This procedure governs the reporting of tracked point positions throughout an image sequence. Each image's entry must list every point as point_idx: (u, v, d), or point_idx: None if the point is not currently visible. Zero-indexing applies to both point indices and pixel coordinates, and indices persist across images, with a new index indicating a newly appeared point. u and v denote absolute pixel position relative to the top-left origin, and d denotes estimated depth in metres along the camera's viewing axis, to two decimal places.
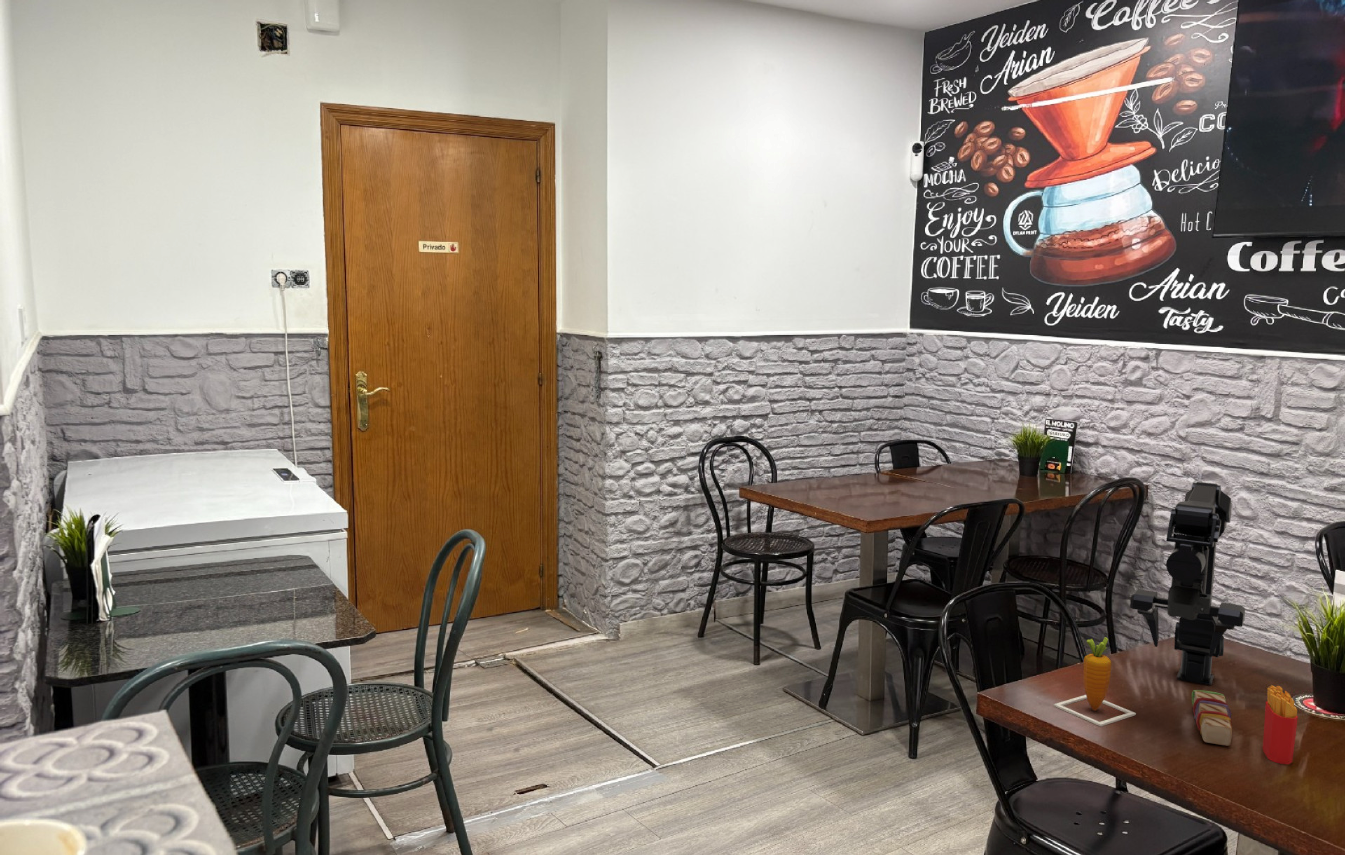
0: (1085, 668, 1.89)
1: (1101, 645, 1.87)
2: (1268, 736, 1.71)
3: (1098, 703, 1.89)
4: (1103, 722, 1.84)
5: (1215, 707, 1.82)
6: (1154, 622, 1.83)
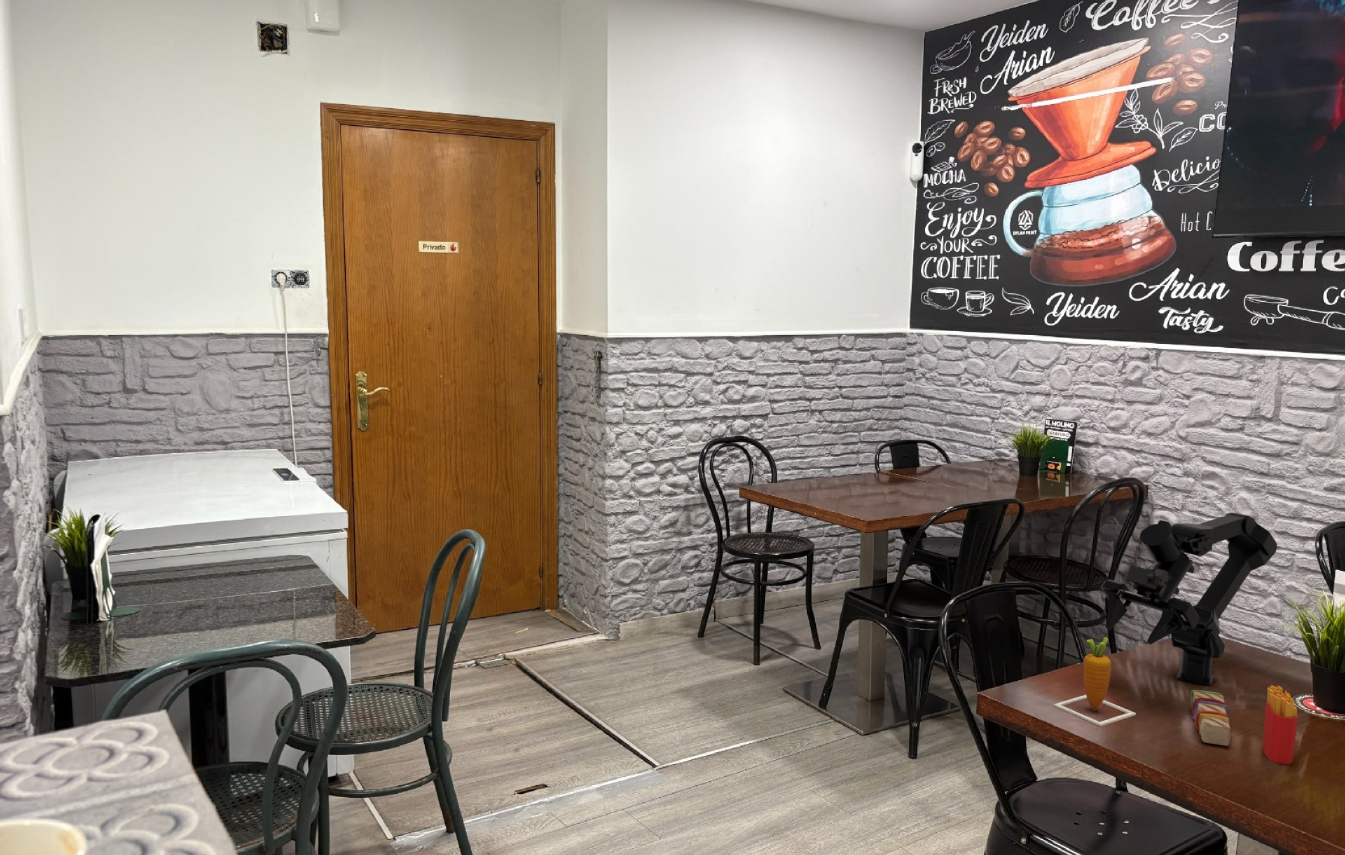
0: (1085, 668, 1.89)
1: (1101, 645, 1.87)
2: (1268, 736, 1.71)
3: (1098, 703, 1.89)
4: (1103, 722, 1.84)
5: (1214, 707, 1.82)
6: (1114, 605, 1.98)
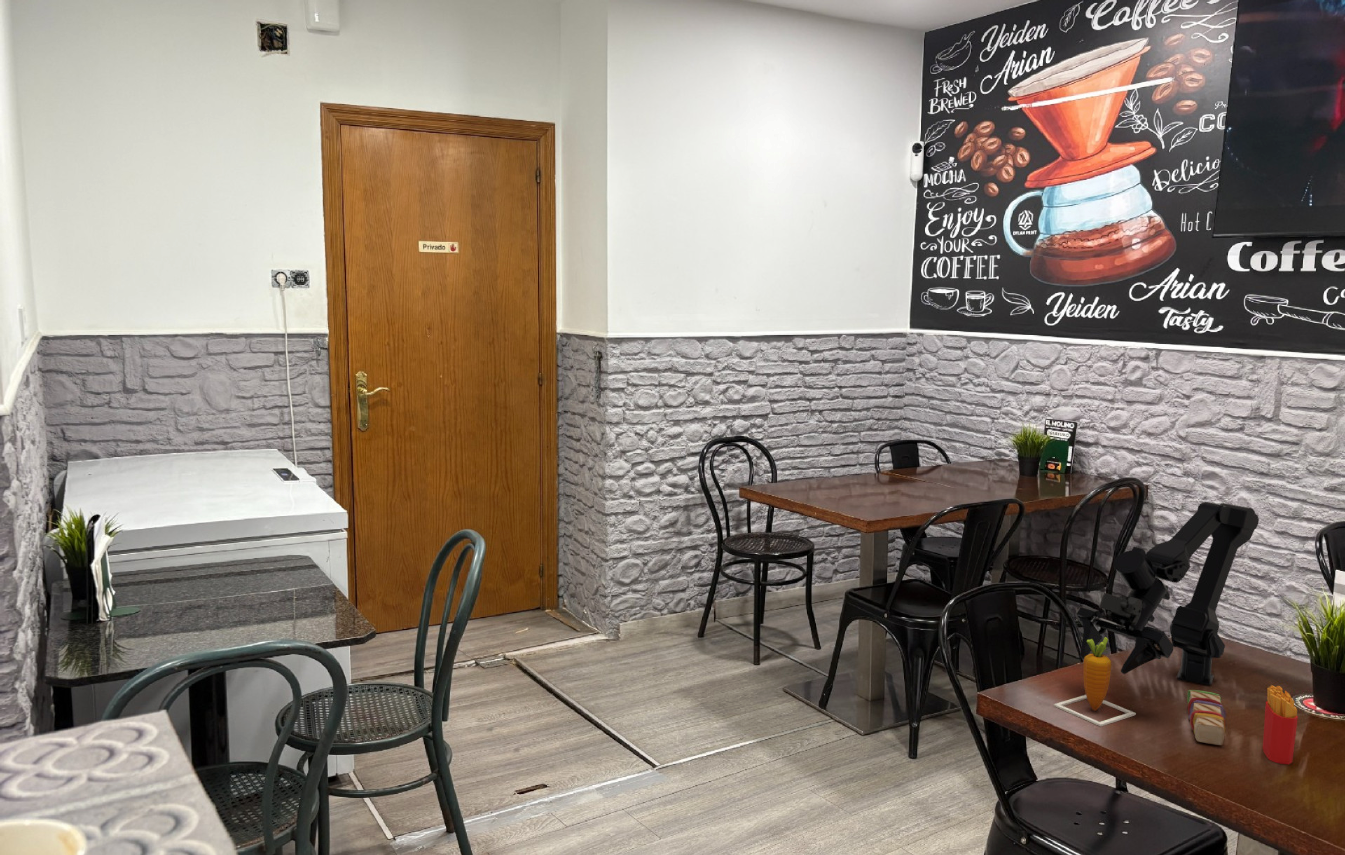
0: (1085, 668, 1.89)
1: (1101, 645, 1.87)
2: (1268, 736, 1.71)
3: (1098, 703, 1.89)
4: (1103, 722, 1.84)
5: (1209, 707, 1.82)
6: (1089, 633, 1.95)
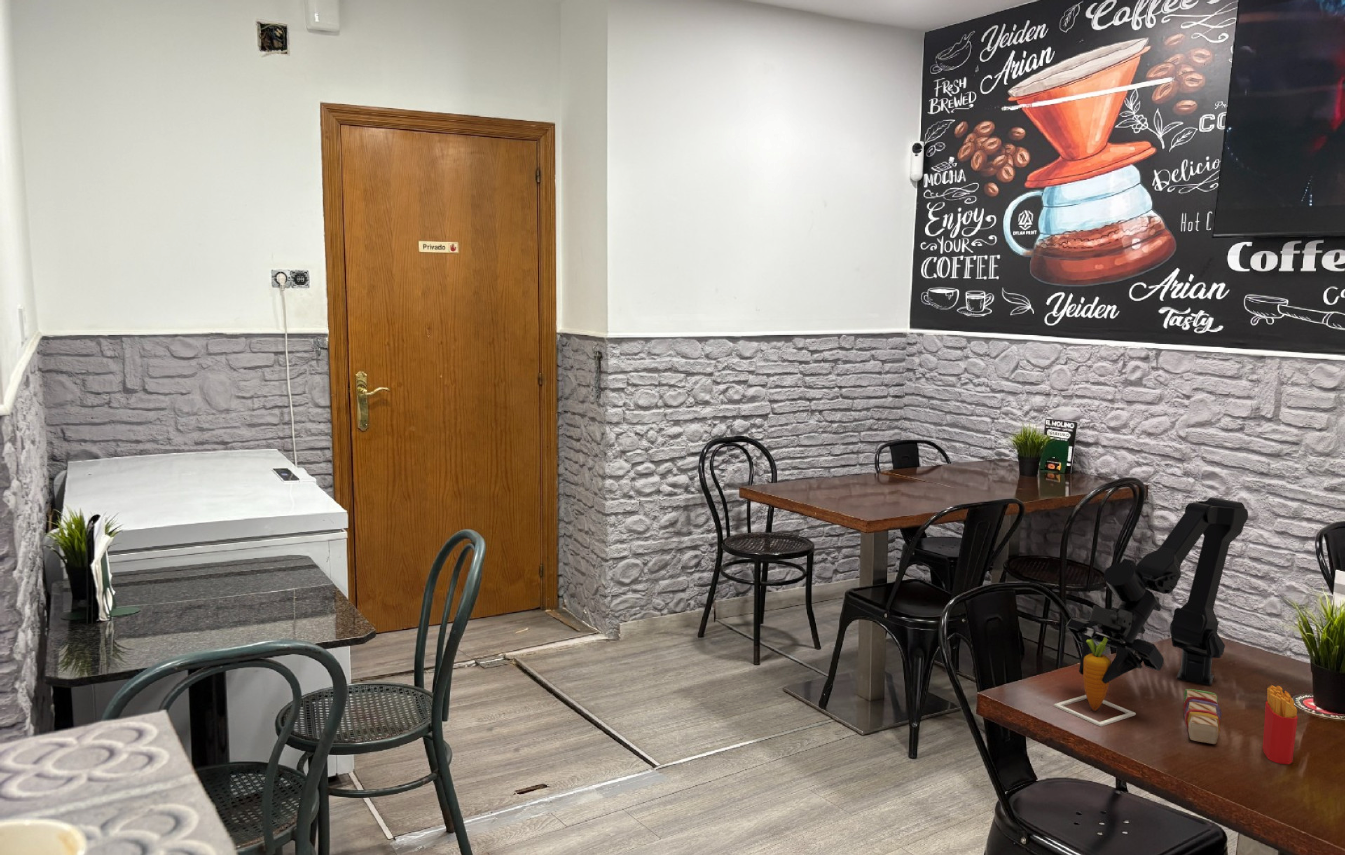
0: (1085, 668, 1.89)
1: (1101, 645, 1.87)
2: (1268, 736, 1.71)
3: (1098, 703, 1.89)
4: (1103, 722, 1.84)
5: (1204, 706, 1.82)
6: (1088, 648, 1.92)
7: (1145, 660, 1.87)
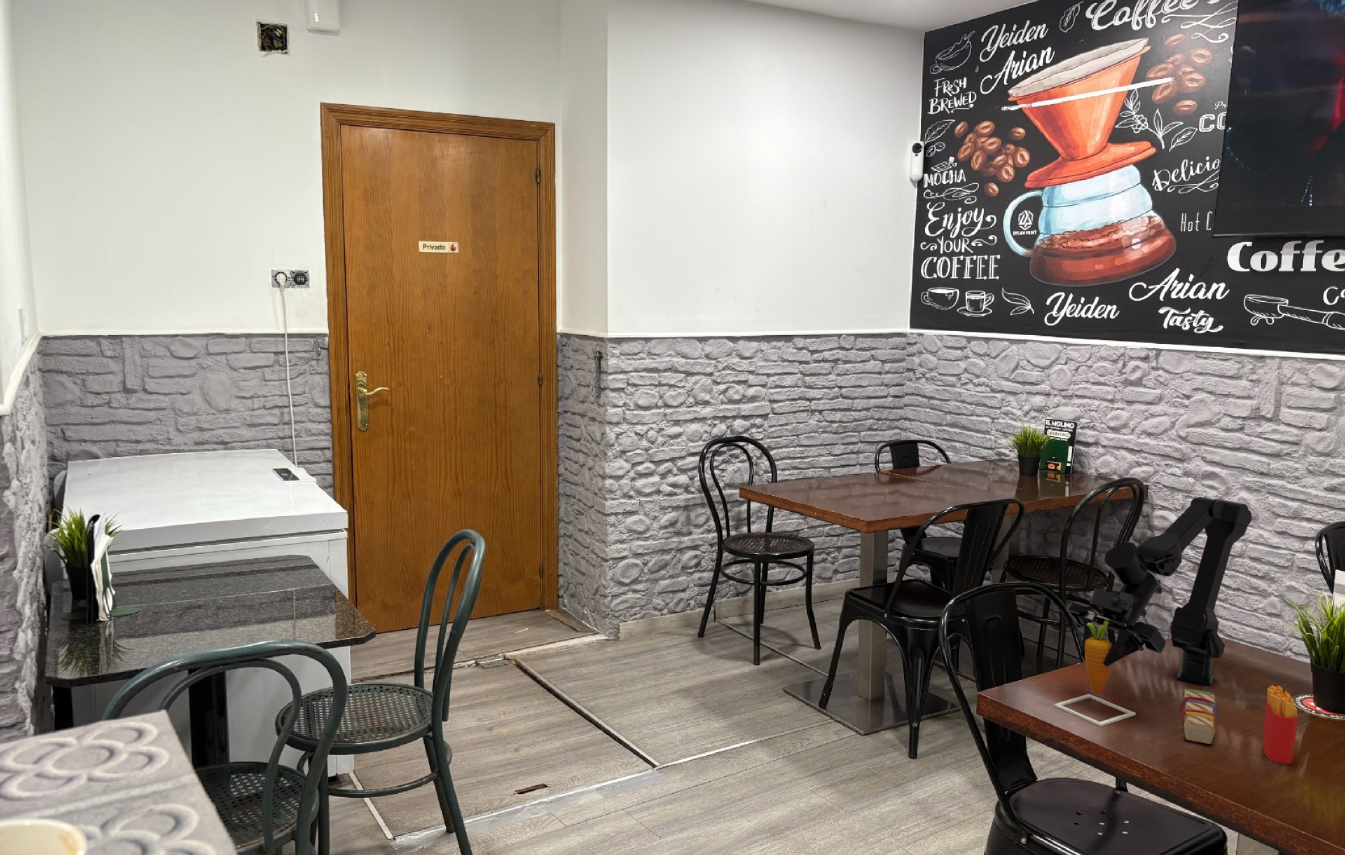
0: (1086, 651, 1.89)
1: (1102, 628, 1.87)
2: (1268, 736, 1.71)
3: (1100, 686, 1.88)
4: (1103, 722, 1.84)
5: (1201, 706, 1.83)
6: (1089, 631, 1.91)
7: (1146, 643, 1.86)
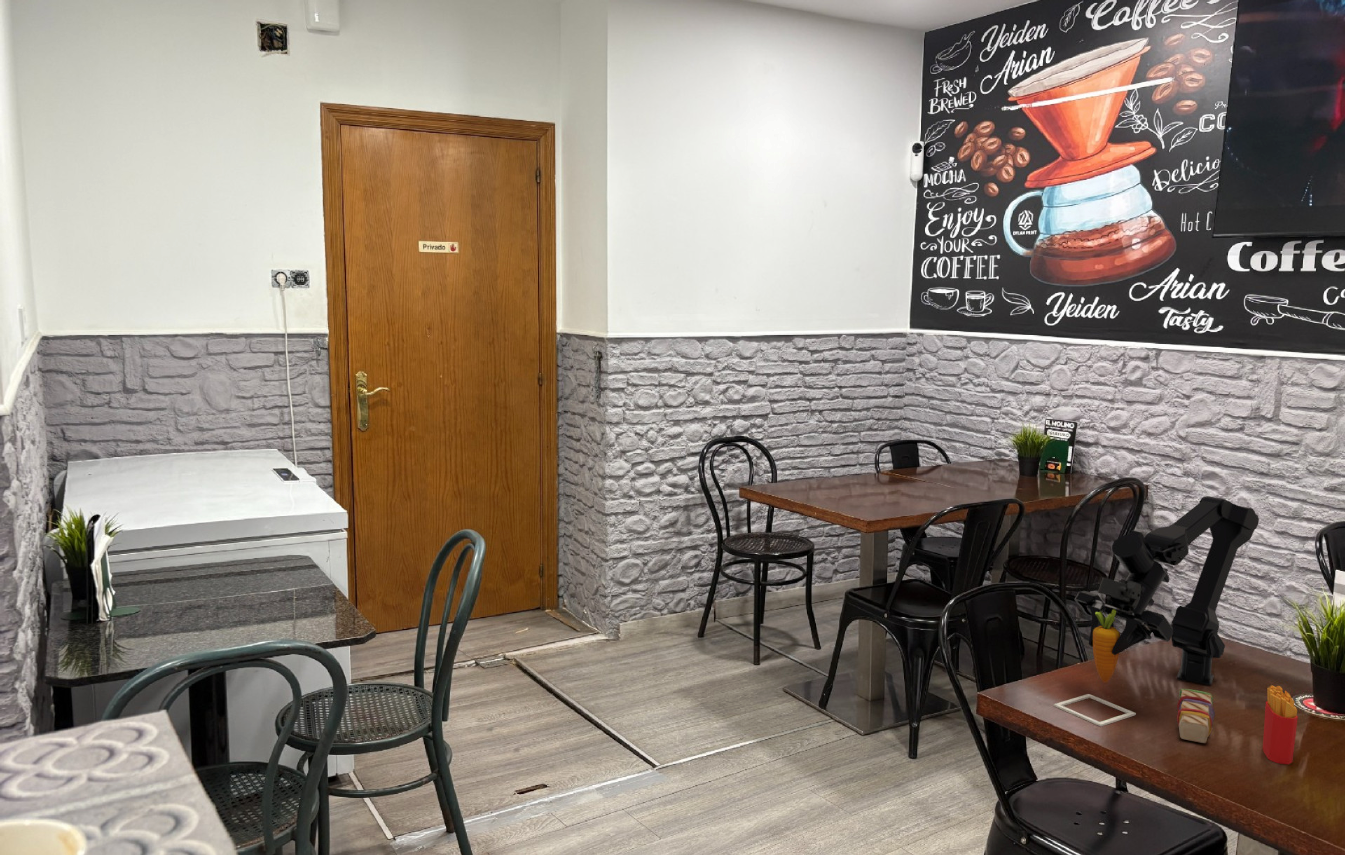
0: (1094, 640, 1.90)
1: (1109, 617, 1.88)
2: (1268, 736, 1.71)
3: (1108, 675, 1.89)
4: (1103, 722, 1.84)
5: (1197, 705, 1.83)
6: (1097, 620, 1.92)
7: (1154, 631, 1.87)
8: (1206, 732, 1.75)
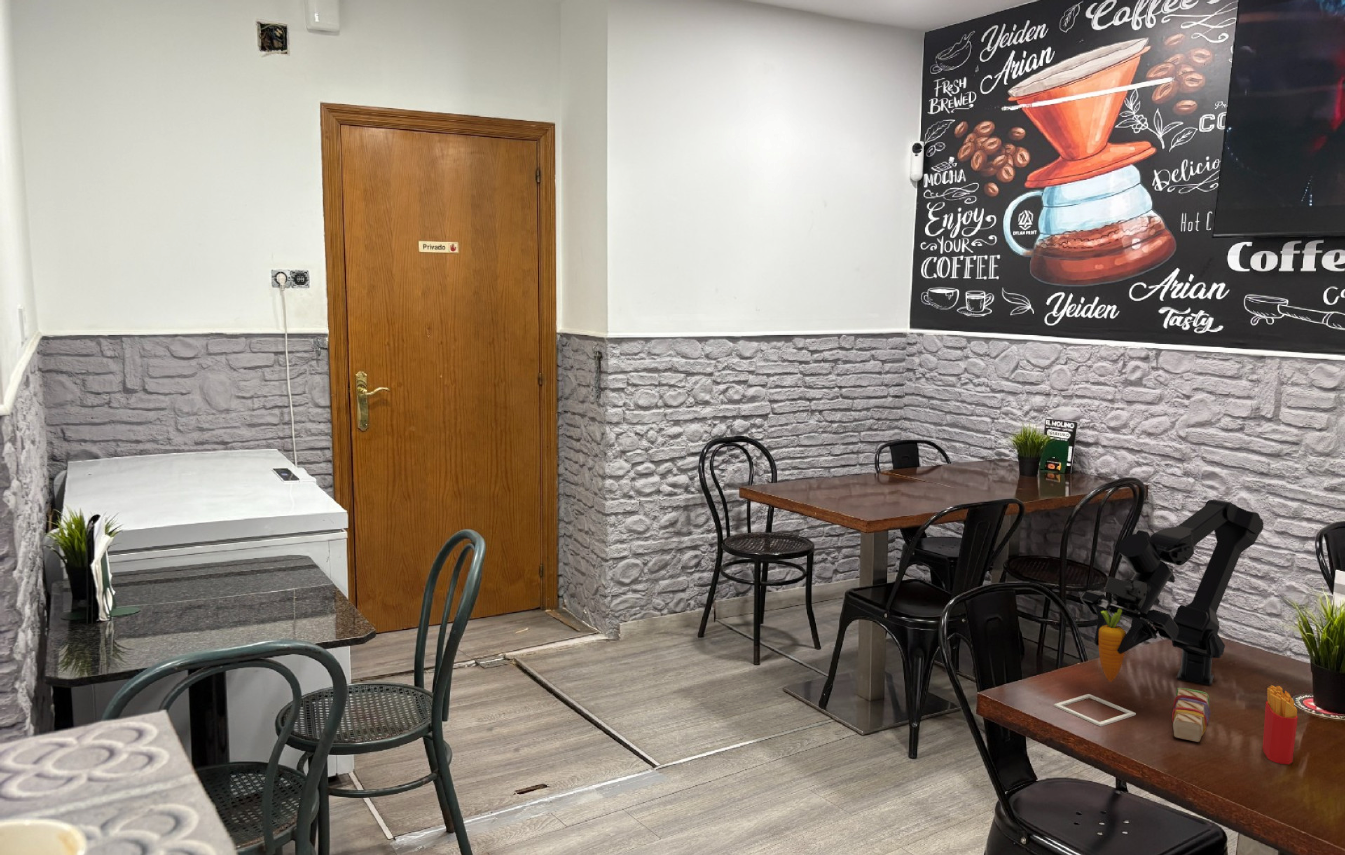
0: (1100, 639, 1.90)
1: (1115, 616, 1.89)
2: (1268, 736, 1.71)
3: (1114, 674, 1.90)
4: (1103, 722, 1.84)
5: (1192, 704, 1.83)
6: (1103, 619, 1.93)
7: (1160, 630, 1.88)
8: (1200, 731, 1.75)
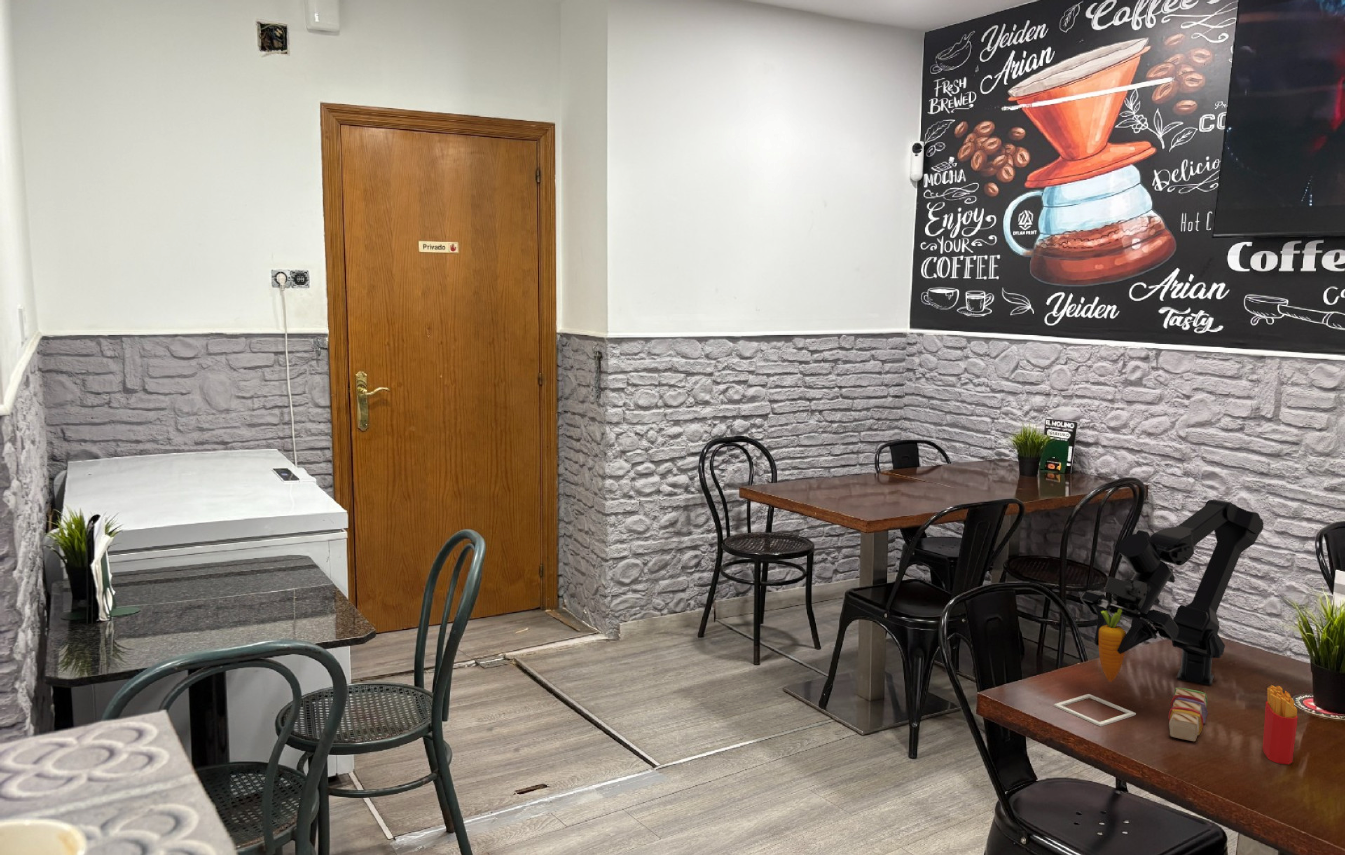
0: (1100, 639, 1.90)
1: (1115, 616, 1.89)
2: (1268, 736, 1.71)
3: (1114, 674, 1.90)
4: (1103, 722, 1.84)
5: (1189, 704, 1.83)
6: (1103, 619, 1.93)
7: (1160, 630, 1.88)
8: (1196, 730, 1.75)
